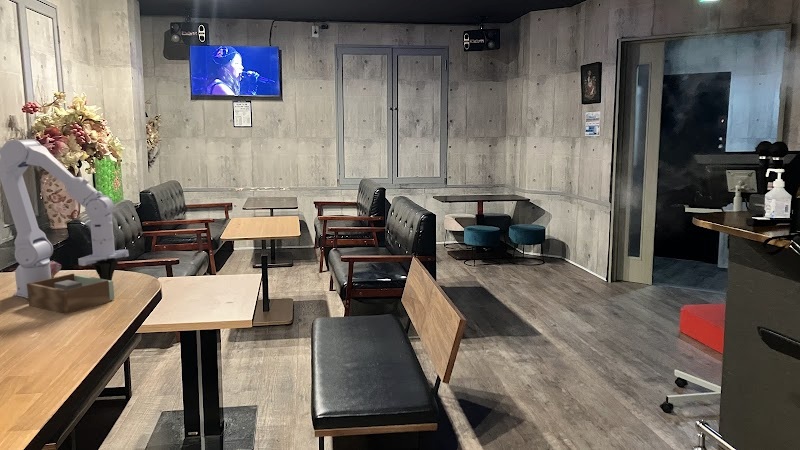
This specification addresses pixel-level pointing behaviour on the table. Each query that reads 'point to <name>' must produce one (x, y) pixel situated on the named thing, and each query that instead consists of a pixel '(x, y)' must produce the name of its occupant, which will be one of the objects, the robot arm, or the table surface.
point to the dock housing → (66, 295)
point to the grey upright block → (67, 284)
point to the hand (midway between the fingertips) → (106, 285)
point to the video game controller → (54, 268)
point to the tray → (90, 280)
